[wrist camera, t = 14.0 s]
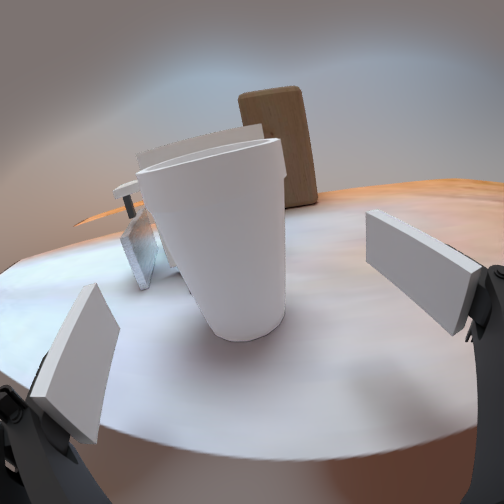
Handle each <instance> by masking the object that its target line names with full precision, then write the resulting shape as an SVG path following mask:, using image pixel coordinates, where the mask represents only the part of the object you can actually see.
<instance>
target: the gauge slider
mask: <svg viewBox="0 0 504 504" xmlns="http://www.w3.org/2000/svg"><path fill="white" fill-rule="evenodd" d="M260 139H264V134H263V129H262V124H255V125H249V126H244V127H238V128H234V129H228V130H224V131H219V132H214V133H210V134H206V135H202V136H197V137H193V138H190V139H185V140H182V141H178V142H175V143H171V144H167V145H164V146H160V147H157V148H154V149H151V150H147V151H144V152H141V153H138V154H136V156H137V160H138V164H139V168H140V171H141V170H143V169H146V168H148V167H151V166H154V165H156V164H159V163H162V162H165V161H168V160H171V159H174V158H178V157H181V156H184V155H188V154H191V153H195V152H199V151H203V150H207V149H211V148H216V147H220V146H225V145H230V144H235V143H241V142H247V141H253V140H260ZM139 191H140V187H139V184H138V180H134V181H131V182H128V183H125V184H122V185H120V186H119V187H117V188H116V189H115V190H113V194H114V198H115V199H118V198H121V197H123V200H124V203H125V207H126V210H127V213H128V216H129V218H130V219H131V218H134V217H136V212H135V209H134V206H133V203H132V200H131V196H130V194H133V193H135V192H139ZM155 223H156V222H155ZM156 226H157V224H156ZM157 229H158V227H157ZM158 233H159V236H160V239H161V242H162V245H163V248H164V250H165V253H166V256H167V259H168V262H169V265H170V268H172V267H176V266H177V265H176V263H175V261H174V259H173V257H172V255H171V253H170V251H169V249H168V247H167V245H166V243H165V241H164V239H163V237H162V235H161V233H160V231H159V229H158Z"/></svg>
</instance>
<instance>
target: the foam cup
mask: <svg viewBox="0 0 504 504" xmlns="http://www.w3.org/2000/svg"><path fill="white" fill-rule="evenodd" d="M286 176H287V173H286V167H285V161H284V156H283V150H282V144H281V139H277V138H271V139H260V140H253V141H247V142H241V143H235V144H230V145H225V146H220V147H216V148H211V149H207V150H203V151H199V152H195V153H191V154H188V155H184V156H181V157H178V158H174V159H171V160H168V161H165V162H162V163H159V164H156V165H154V166H151V167H148V168H146V169H143V170H141V171H139V172H137V173H136V177H137V180H138V184H139V187H140V191H141V194H142V198H143V201H144V204H145V207H146V209H147V210H148V211H149V212H150V213H151V214H152V216H153V218H154V220H155V222H156V224H157V227H158V229H159V231H160V233H161V235H162V237H163V239H164V241H165V243H166V245H167V247H168V249H169V251H170V253H171V255H172V257H173V259H174V261H175V263H176V265H177V267H178V269H179V271H180V273H181V275H182V277H183V279H184V281H185V283H186V285H187V287H188V288H189V290H190V292H191V294H192V296H193V298H194V300H195V301H196V303H197V305H198V307H199V309H200V310H201V312H202V314H203V316H204V318H205V319H206V321H207V322H208V324H209V326H210V327H211V329H212V330H213V332H214V333H215V335H216V336H218V337H221V338H223V339H226V340H228V341H251V340H254V339H256V338H259V337H262V336H265V335H267V334H268V333H270V332H271V331H272V330H273V329H275V328H276V327H277V326H278V325H280V323H281V320H282V318H283V316H284V314H285V310H284V308H285V203H284V178H285V177H286Z"/></svg>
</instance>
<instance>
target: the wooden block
mask: <svg viewBox="0 0 504 504" xmlns="http://www.w3.org/2000/svg"><path fill="white" fill-rule="evenodd" d="M238 103H239V108H240V112H241V117H242V122H243V127H244V126H249V125H255V124H262V129H263V134H264V139H271V138H277V139H281V144H282V150H283V156H284V161H285V167H286V173H287V176H286V177H285V178H284V203H285V208H288V207H294V206H301V205H307V204H313V203H315V202H317V198H318V194H317V187H316V178H315V171H314V163H313V156H312V150H311V143H310V137H309V131H308V125H307V119H306V113H305V108H304V103H303V97H302V92H301V90H300V89H299V87H297V86H287V87H279V88H271V89H265V90H259V91H253V92H248V93H243V94H241V95H239V98H238Z"/></svg>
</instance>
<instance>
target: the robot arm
mask: <svg viewBox="0 0 504 504" xmlns="http://www.w3.org/2000/svg"><path fill="white" fill-rule="evenodd" d="M366 262H367V263H369V264H370V265H371V266H372V267H374V268H375V269H376V270H377V271H379V272H380V273H381V274H382V275H383V276H385V277H386V278H387V279H388V280H389V281H391V282H392V283H393V284H394V285H395V286H397V287H398V288H399V289H400V290H401V291H402V292H404V293H405V294H406V295H407V296H408V297H409V298H411V299H412V300H413V301H414V302H415V303H416V304H417V305H419V306H420V307H421V308H422V309H423V310H424V311H425V312H426V313H428V314H429V315H430V316H431V317H432V318H433V319H434V320H435V321H436V322H437V323H439V324H440V325H441V326H442V327H443V328H444V329H445V330H446V331H447V332H448V333H449V334H450V335H451V336H453V335H455V334H456V333H458V332H459V331H460V330H462V329H463V328H464V326H465V323H466V321H467V318H468V315H469V316H470V317H471V318H472V319H473V320H472V323H471V326H470V328H469V331H468V334H467V336H466V340H465V342H468V340H469V337H470V335H472V340H471V342H473V345H474V353H475V362H476V374H477V392H478V424H477V442H476V453H475V461H474V468H473V474H472V480H471V485H470V488H469V490H468V492H467V493H466V495H465V496H464V497H463V499H462V501H461V503H460V504H504V266H501V265H492V266H490V267H489V269H487V268H486V267H484V266H483V265H481V264H479V263H478V262H476V261H475V260H473V259H471V258H470V257H468V256H466V255H463V253H461V252H460V251H457V250H456V249H455V248H453V247H451V246H449V245H447V244H444V243H442V242H441V241H439V240H437V239H435V238H433V237H432V236H430V235H428V234H426V233H424V232H422V231H420V230H419V229H417V228H415V227H413V226H411V225H409V224H407V223H405V222H403V221H401V220H399V219H397V218H395V217H393V216H391V215H389V214H387V213H385V212H383V211H381V210H379V209H376V210H372V211H367V212H366ZM119 331H120V327H119V326H118V324H117V322H116V320H115V318H114V316H113V315H112V313H111V311H110V309H109V307H108V305H107V303H106V301H105V299H104V297H103V295H102V293H101V291H100V289H99V287H98V285H97V283H94V284H90V285H87V286H84V287H83V288H82V290H81V292H80V293H79V295H78V297H77V298H76V300H75V302H74V304H73V305H72V307H71V309H70V311H69V313H68V315H67V316H66V318H65V320H64V322H63V324H62V326H61V328H60V330H59V332H58V334H57V336H56V338H55V340H54V342H53V344H52V346H51V348H50V350H49V351H48V352H47V354H46V355H45V356H44V357H43V359H42V362H41V364H40V366H39V369H38V371H37V373H36V376H35V378H34V380H33V382H32V385H31V387H30V390H29V393H28V395H27V398H26V401H24V400H23V399H22V398H21V397H20V396H19V395H18V394H17V393H16V392H15V391H14V389H13V388H12V387H11V386H9V385H3V386H1V387H0V419H1V420H2V421H0V504H112V503H111V502H110V500H109V499H108V498H107V496H106V495H105V494H104V492H103V491H102V489H101V488H100V487H99V485H98V484H97V483H96V481H95V480H94V478H93V477H92V475H91V473H90V472H89V470H88V469H87V467H86V466H85V464H84V462H83V461H82V459H81V457H80V456H79V454H78V452H77V451H76V449H75V447H74V446H73V445H72V444H71V443H70V442H69V439H70V435H71V436H72V437H73V438H74V439H76V440H77V441H78V442H79V443H85V444H96V443H97V436H98V429H99V423H100V417H101V411H102V405H103V400H104V395H105V390H106V385H107V380H108V376H109V371H110V367H111V362H112V358H113V354H114V350H115V346H116V343H117V339H118V335H119ZM5 460H6V461H8V462H9V463H10V464H12V465H13V466H14V467H15V472H13V471H11V470H10V469H9V468H7V467H6V466H5Z"/></svg>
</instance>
